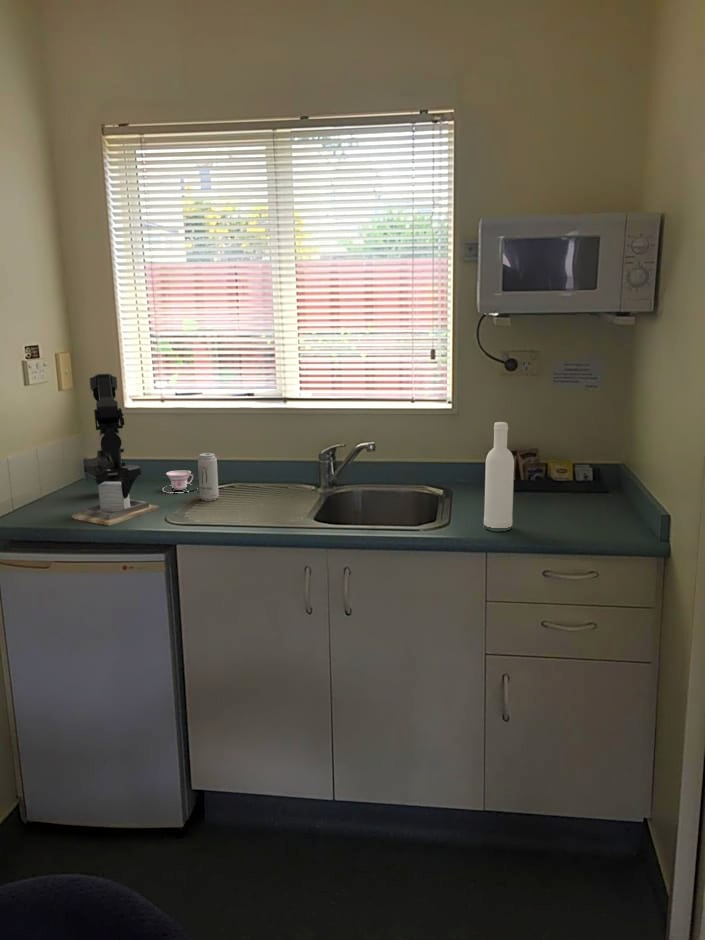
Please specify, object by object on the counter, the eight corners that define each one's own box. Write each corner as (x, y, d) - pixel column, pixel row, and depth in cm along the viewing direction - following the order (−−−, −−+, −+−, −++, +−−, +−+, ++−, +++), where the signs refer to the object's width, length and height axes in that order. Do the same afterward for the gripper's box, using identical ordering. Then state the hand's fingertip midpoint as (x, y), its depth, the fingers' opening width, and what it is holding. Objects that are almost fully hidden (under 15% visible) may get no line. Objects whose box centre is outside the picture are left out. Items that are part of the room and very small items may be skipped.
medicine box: (130, 508, 237) (128, 481, 235) (125, 512, 232) (122, 485, 231) (106, 508, 238) (104, 481, 236) (100, 512, 233) (97, 484, 232)
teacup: (161, 495, 258) (160, 477, 256) (162, 487, 269) (161, 470, 268) (198, 493, 260) (197, 475, 259) (197, 484, 272) (196, 467, 270)
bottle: (489, 522, 221) (492, 419, 214) (516, 526, 217) (519, 421, 210) (479, 530, 214) (482, 424, 208) (506, 534, 210) (510, 426, 204)
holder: (71, 518, 231) (71, 510, 230) (122, 503, 248) (121, 495, 247) (109, 525, 223) (108, 517, 222) (158, 509, 240) (158, 501, 239)
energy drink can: (196, 500, 250) (193, 455, 246) (207, 496, 255) (204, 452, 252) (211, 502, 247) (209, 456, 244) (222, 498, 252) (220, 453, 249)
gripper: (67, 448, 228) (72, 498, 232) (111, 453, 219) (116, 506, 223) (96, 442, 238) (100, 490, 241) (140, 447, 229) (144, 497, 232)
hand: (114, 496), depth 234 cm, fingers open, 9 cm apart
